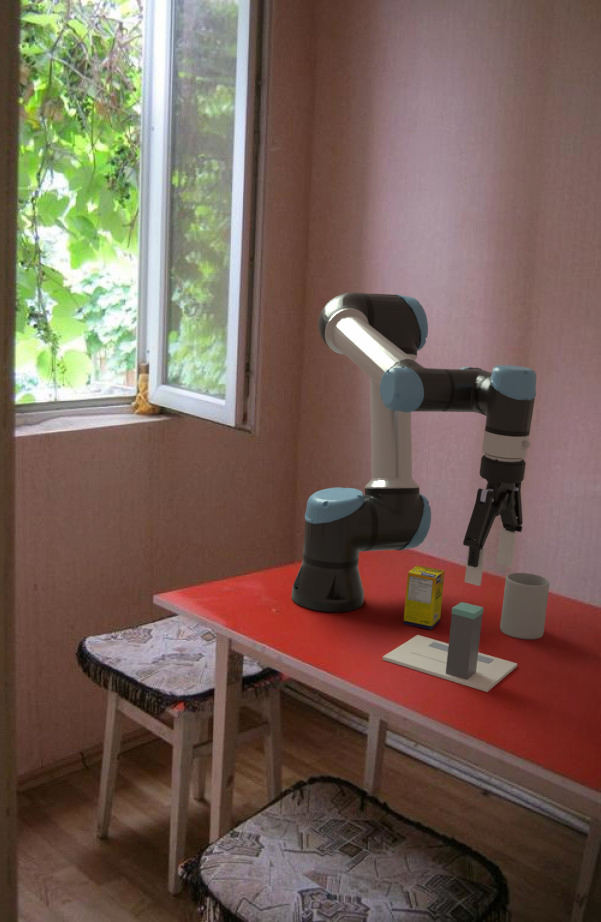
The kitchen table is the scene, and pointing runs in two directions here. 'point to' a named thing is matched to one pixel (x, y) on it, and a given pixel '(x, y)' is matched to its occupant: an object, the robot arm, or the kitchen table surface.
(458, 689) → the kitchen table surface
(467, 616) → the grey teal-topped block
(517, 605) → the mug
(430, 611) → the supplement box
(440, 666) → the paper pad
